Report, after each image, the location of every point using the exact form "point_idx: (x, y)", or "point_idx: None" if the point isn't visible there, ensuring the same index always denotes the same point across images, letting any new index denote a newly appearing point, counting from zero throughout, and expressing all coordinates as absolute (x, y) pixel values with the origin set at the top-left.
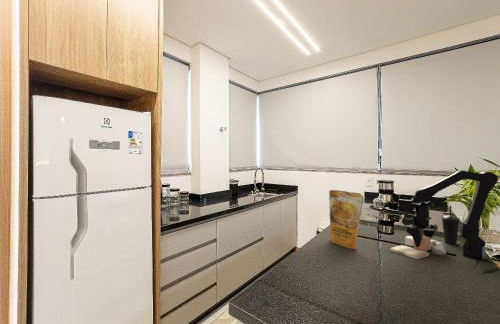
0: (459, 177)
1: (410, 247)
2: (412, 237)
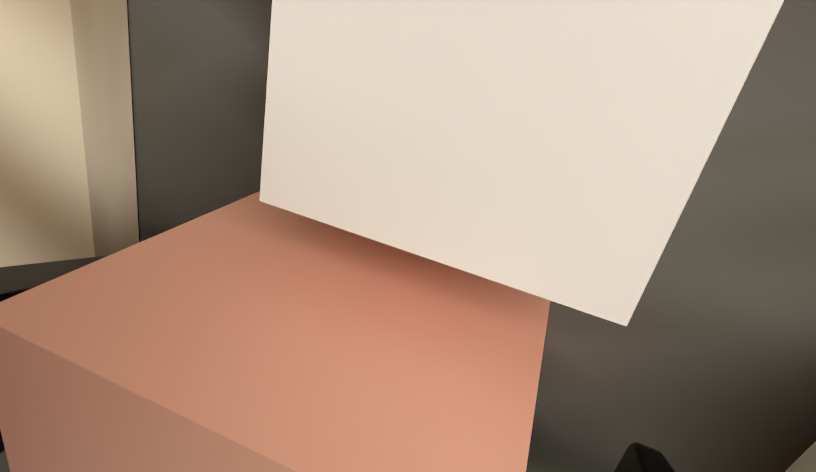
0: None
1: (76, 149)
2: (534, 99)
